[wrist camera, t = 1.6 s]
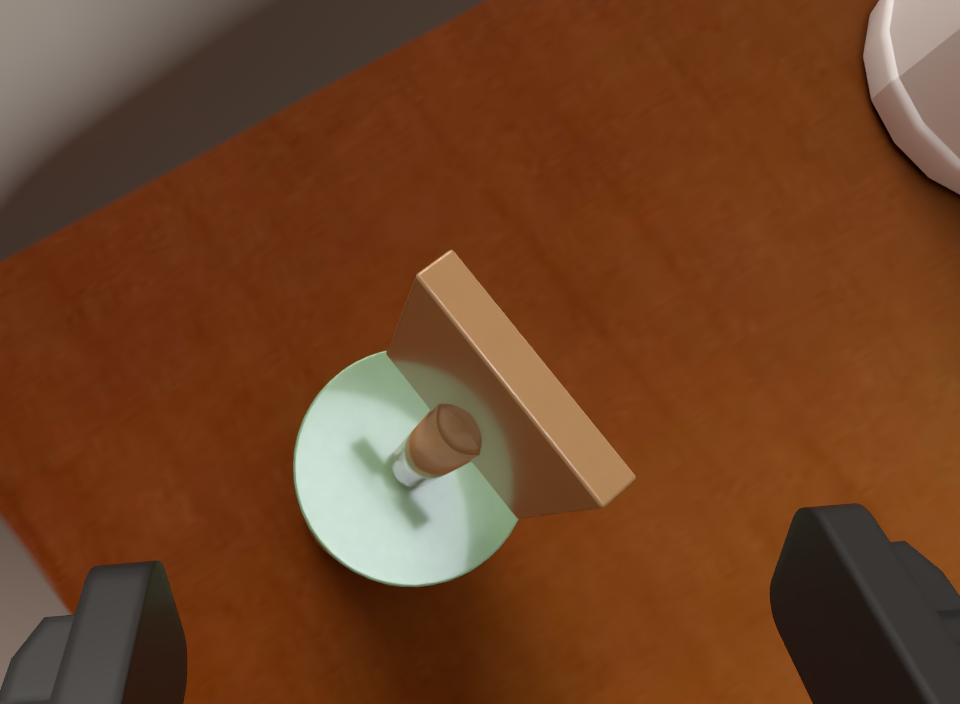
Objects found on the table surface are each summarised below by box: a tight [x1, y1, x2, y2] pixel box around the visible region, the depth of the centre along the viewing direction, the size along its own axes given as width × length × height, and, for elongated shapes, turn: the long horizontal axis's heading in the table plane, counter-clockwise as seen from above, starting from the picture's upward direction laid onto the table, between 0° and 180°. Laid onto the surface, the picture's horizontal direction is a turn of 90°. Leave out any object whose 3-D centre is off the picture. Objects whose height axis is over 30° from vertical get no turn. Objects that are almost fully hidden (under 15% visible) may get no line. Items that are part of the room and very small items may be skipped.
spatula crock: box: [293, 250, 636, 587], centre depth 22 cm, size 6×6×24 cm
